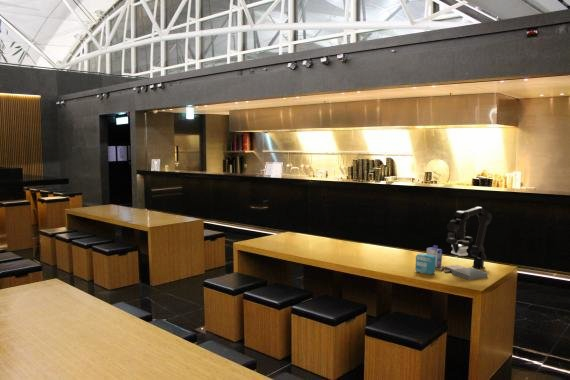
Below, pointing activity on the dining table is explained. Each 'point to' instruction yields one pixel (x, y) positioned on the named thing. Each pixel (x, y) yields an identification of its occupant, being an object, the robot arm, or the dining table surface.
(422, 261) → the data package
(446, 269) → the stand
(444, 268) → the bolt
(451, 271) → the bolt
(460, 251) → the block
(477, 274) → the stand
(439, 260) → the ink cartridge box
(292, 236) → the dining table surface
